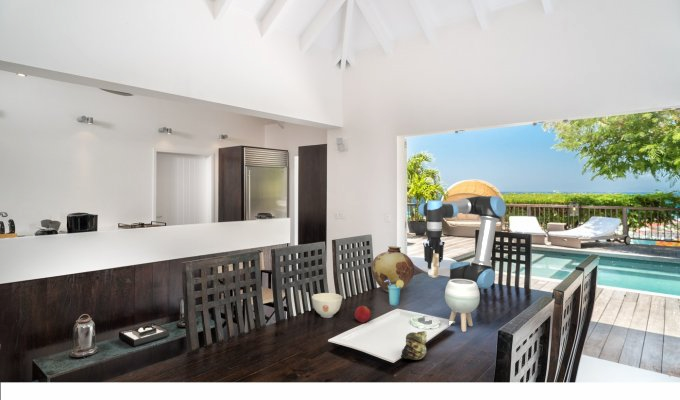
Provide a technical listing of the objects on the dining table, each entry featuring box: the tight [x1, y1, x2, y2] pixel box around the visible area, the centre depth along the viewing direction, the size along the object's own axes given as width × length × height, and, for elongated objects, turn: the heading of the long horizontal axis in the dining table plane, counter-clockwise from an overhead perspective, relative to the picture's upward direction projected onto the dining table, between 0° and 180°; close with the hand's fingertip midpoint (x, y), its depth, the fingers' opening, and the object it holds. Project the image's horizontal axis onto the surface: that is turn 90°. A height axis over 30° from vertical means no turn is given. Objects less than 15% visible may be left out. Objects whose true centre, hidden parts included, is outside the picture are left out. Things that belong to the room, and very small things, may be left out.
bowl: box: [311, 292, 343, 319], centre depth 204 cm, size 16×16×10 cm
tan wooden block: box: [428, 252, 440, 279], centre depth 205 cm, size 4×4×12 cm
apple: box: [354, 305, 372, 323], centre depth 195 cm, size 8×8×8 cm
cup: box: [384, 279, 404, 306], centre depth 227 cm, size 14×8×15 cm, turn 124°
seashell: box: [400, 330, 427, 361], centre depth 153 cm, size 11×11×10 cm
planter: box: [444, 279, 481, 333], centre depth 189 cm, size 16×16×22 cm
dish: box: [409, 315, 441, 329], centre depth 193 cm, size 14×14×3 cm
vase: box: [371, 245, 415, 293], centre depth 254 cm, size 28×27×30 cm
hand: (433, 274), depth 205 cm, fingers closed on tan wooden block, 3 cm apart
